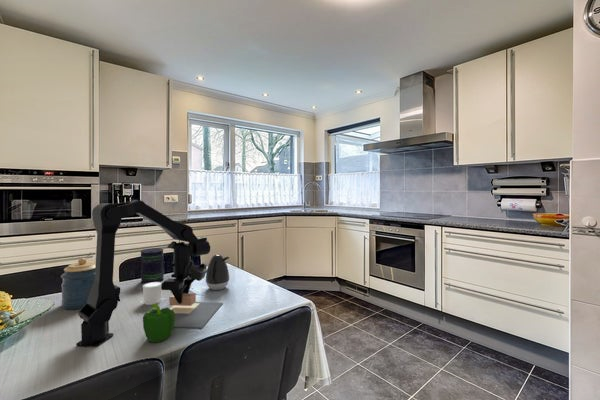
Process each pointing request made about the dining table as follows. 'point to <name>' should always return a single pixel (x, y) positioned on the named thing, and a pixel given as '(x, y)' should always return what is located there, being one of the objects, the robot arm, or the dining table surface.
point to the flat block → (183, 300)
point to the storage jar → (152, 265)
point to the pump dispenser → (217, 273)
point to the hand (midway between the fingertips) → (182, 301)
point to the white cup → (152, 293)
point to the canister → (77, 283)
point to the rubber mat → (194, 314)
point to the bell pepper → (158, 323)
